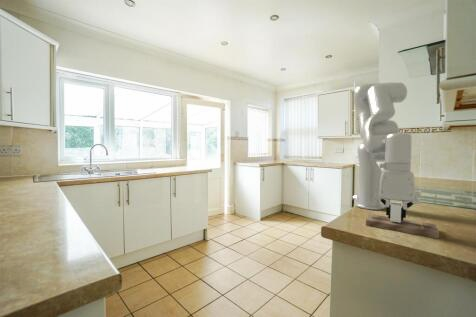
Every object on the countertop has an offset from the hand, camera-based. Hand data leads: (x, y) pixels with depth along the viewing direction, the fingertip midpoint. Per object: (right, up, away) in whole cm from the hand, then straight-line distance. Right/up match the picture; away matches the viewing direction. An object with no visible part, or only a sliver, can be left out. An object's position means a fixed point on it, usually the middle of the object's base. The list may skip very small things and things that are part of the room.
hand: (395, 218), depth 79 cm
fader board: (+1, -3, -1) cm, 3 cm away
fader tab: (0, -1, 0) cm, 1 cm away
